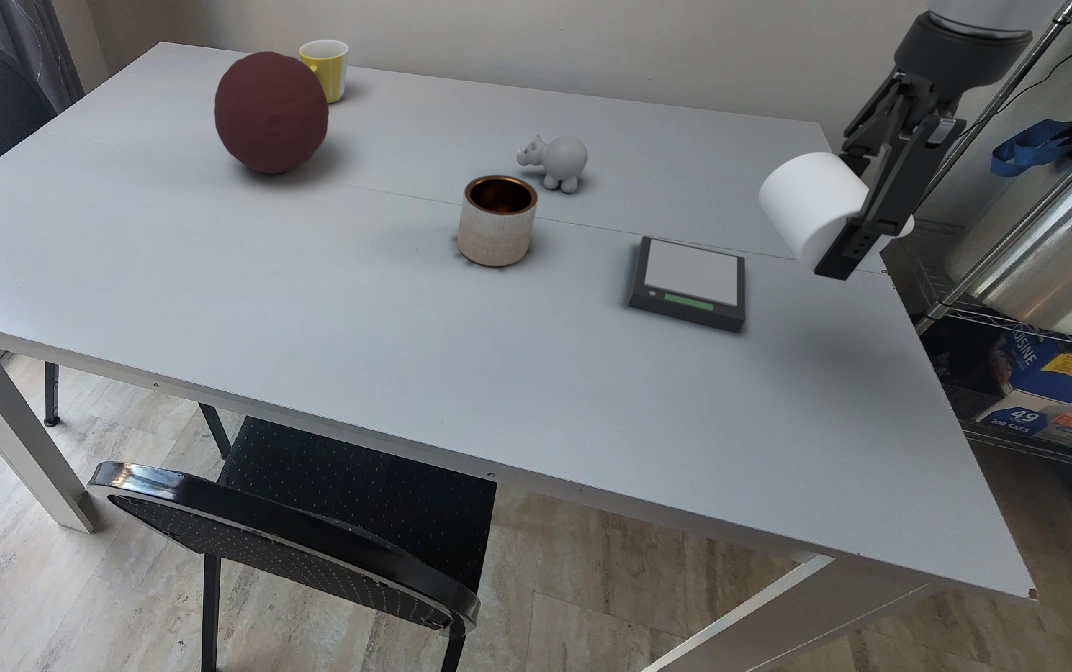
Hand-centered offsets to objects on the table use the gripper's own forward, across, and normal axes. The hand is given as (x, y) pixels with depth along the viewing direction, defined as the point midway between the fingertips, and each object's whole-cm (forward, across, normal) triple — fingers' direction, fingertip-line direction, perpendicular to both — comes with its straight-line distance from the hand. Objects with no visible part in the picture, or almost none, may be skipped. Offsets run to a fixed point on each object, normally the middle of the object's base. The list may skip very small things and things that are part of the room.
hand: (824, 241), depth 63 cm
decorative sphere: (+19, -19, -79) cm, 83 cm away
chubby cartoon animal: (+19, -32, -32) cm, 49 cm away
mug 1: (+19, -46, -83) cm, 97 cm away
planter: (+19, -10, -36) cm, 42 cm away
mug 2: (+1, 0, 0) cm, 1 cm away
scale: (+19, -11, -8) cm, 23 cm away
